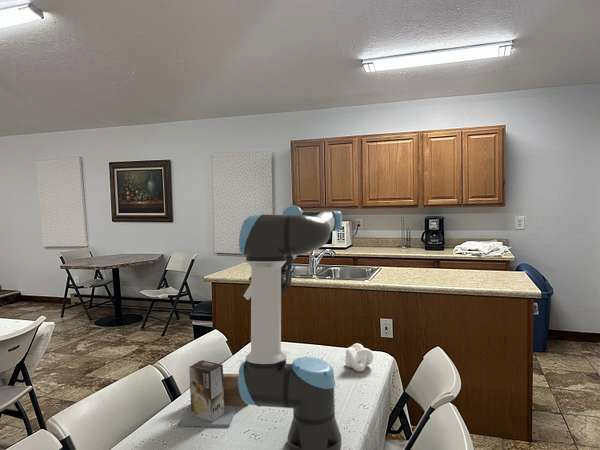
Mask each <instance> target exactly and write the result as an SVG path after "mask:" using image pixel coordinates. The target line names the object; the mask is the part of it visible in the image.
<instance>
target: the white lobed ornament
mask: <svg viewBox="0 0 600 450" xmlns="http://www.w3.org/2000/svg"><path fill="white" fill-rule="evenodd" d="M374 358H375V357H374V353H373V351H372V350H371V349H369V348H366V347H364V346H363V345H362V344H361V343H357V342H356V343H354V344H352V345H351V346H349V347H347V348H346V350H345V360H344V363H345V366H346V367H348V368H349V369H353V370H355V371H356V372H358V373H361V372H363V371H365V369H366V367H367V366H370V364H372V362H373V361H374Z"/></svg>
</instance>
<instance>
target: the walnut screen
mask: <svg viewBox="0 0 600 450" xmlns="http://www.w3.org/2000/svg"><path fill="white" fill-rule="evenodd" d="M238 375H239V373H223V388H224V406H249V404H246V403H245V402H244V401H243V400H242V398H241V396H240V393H239V387H238Z"/></svg>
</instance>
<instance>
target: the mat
mask: <svg viewBox="0 0 600 450" xmlns="http://www.w3.org/2000/svg"><path fill="white" fill-rule="evenodd" d="M236 411H237V406H224V414H223V415H222V416H220V417H219V418H218V419H216V420H215V421H213V422H211V421H207V420H204V419H201V418H197V417H194V416H191V405H190V406H188V407H187V408H186V410H185V412H184V413H183V415H182V416H181V418H180V419H179V421H178V422H177V427H178V426H203V427H202V428H229V427H230V426H231V424H232V421H233V418H234V417H235V413H236Z"/></svg>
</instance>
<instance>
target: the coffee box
mask: <svg viewBox="0 0 600 450" xmlns="http://www.w3.org/2000/svg"><path fill="white" fill-rule="evenodd" d="M188 367H189V368H188V369H189V370H188V371H189V391H190V394H189V395H190V406H191V416H194V417H197V418H201V419H204V420H207V421H211V422H213V421H215V420H216V419H218V418H219V417H220V416H222V415H223V414H224V407H225V405H224V388H223V374H224V365H223V364H221V363H216V362H212V361H206V360H202V359H201V360H200V361H197V362H196V363H193V364H192V365H190V366H188Z"/></svg>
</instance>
